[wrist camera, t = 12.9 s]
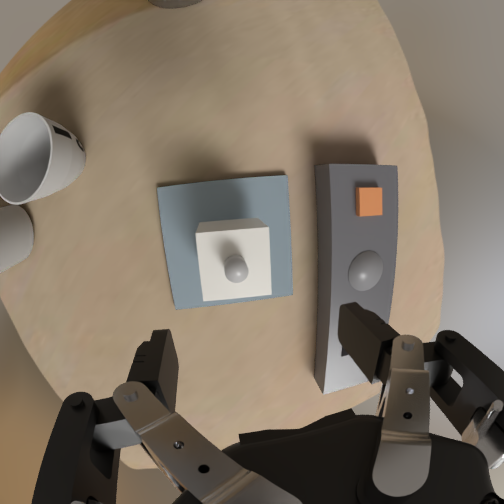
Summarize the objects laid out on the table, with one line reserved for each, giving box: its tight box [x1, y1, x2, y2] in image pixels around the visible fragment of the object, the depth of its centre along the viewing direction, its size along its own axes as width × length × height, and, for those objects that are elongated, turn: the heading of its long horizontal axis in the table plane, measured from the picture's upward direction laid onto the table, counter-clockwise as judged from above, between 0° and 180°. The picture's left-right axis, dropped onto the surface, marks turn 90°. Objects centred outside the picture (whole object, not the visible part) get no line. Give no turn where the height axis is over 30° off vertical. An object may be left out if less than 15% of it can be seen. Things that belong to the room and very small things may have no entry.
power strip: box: [314, 164, 398, 395], centre depth 32 cm, size 30×9×5 cm, turn 4°
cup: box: [0, 112, 86, 205], centre depth 20 cm, size 8×8×10 cm
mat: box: [157, 175, 293, 310], centre depth 30 cm, size 14×14×1 cm
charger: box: [195, 218, 272, 301], centre depth 25 cm, size 6×6×10 cm
